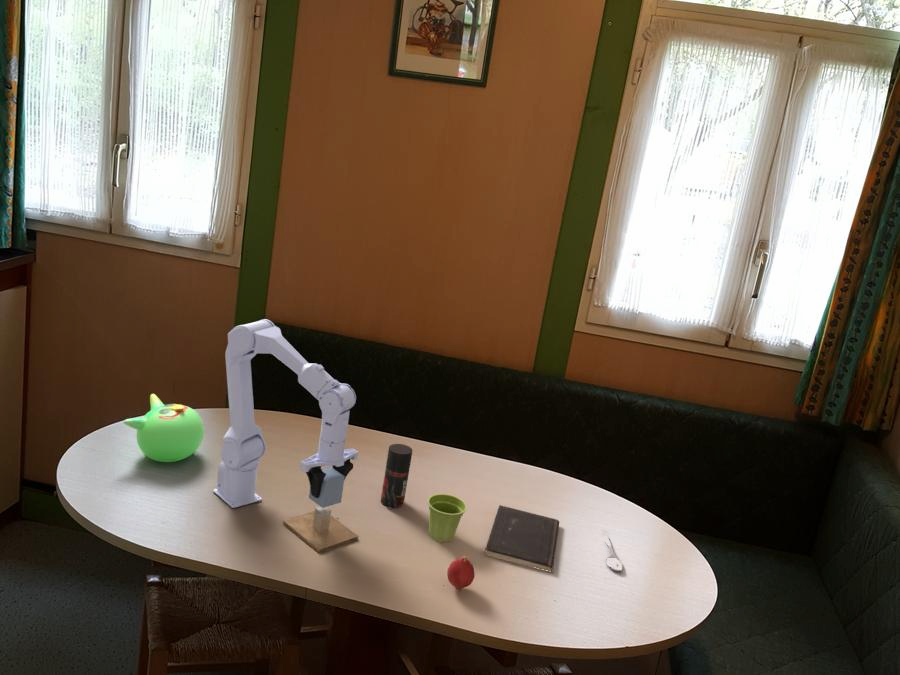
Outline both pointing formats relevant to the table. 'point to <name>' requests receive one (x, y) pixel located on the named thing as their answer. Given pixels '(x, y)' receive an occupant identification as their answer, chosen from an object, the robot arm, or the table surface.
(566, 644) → the table surface
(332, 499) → the pale blue cuboid
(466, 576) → the onion
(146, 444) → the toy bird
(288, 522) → the wooden board
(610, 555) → the spoon
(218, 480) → the robot arm
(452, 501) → the plant pot
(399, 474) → the deodorant
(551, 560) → the hardcover book
